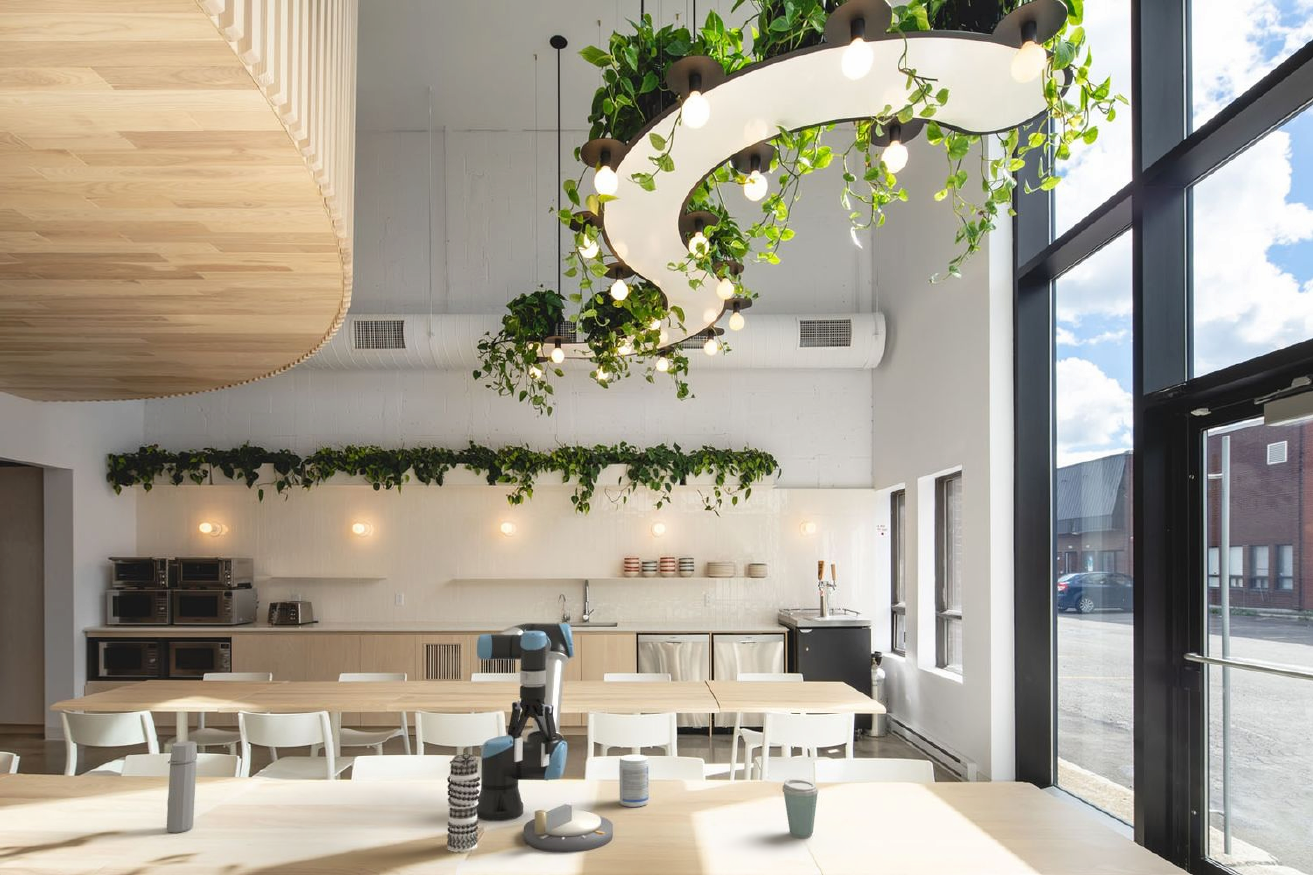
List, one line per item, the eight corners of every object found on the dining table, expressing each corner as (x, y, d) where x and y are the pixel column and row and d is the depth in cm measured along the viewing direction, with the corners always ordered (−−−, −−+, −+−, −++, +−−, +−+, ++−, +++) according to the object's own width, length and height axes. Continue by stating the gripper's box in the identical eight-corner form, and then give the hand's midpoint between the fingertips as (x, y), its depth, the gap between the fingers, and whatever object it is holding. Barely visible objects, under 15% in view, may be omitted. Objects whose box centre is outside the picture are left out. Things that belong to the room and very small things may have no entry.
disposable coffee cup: (821, 831, 273) (821, 779, 275) (816, 842, 263) (815, 788, 265) (786, 827, 277) (786, 776, 278) (779, 838, 267) (778, 785, 268)
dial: (562, 811, 281) (562, 787, 282) (613, 822, 271) (613, 797, 272) (510, 833, 261) (511, 807, 262) (563, 845, 251) (563, 818, 252)
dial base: (504, 841, 264) (505, 829, 264) (560, 817, 286) (560, 806, 286) (577, 858, 250) (577, 845, 250) (629, 832, 272) (629, 820, 272)
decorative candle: (462, 854, 253) (465, 761, 255) (438, 848, 257) (441, 757, 260) (485, 845, 260) (487, 754, 263) (461, 839, 265) (463, 750, 268)
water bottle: (199, 827, 275) (204, 742, 278) (176, 835, 268) (181, 747, 271) (178, 823, 279) (183, 739, 282) (155, 830, 272) (160, 744, 275)
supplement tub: (654, 804, 299) (654, 758, 301) (629, 809, 294) (629, 762, 296) (638, 797, 308) (638, 752, 309) (613, 802, 302) (614, 756, 304)
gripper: (495, 683, 272) (494, 760, 270) (554, 689, 261) (553, 771, 258) (512, 679, 279) (511, 755, 276) (570, 686, 267) (569, 765, 265)
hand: (531, 763), depth 267 cm, fingers open, 9 cm apart
